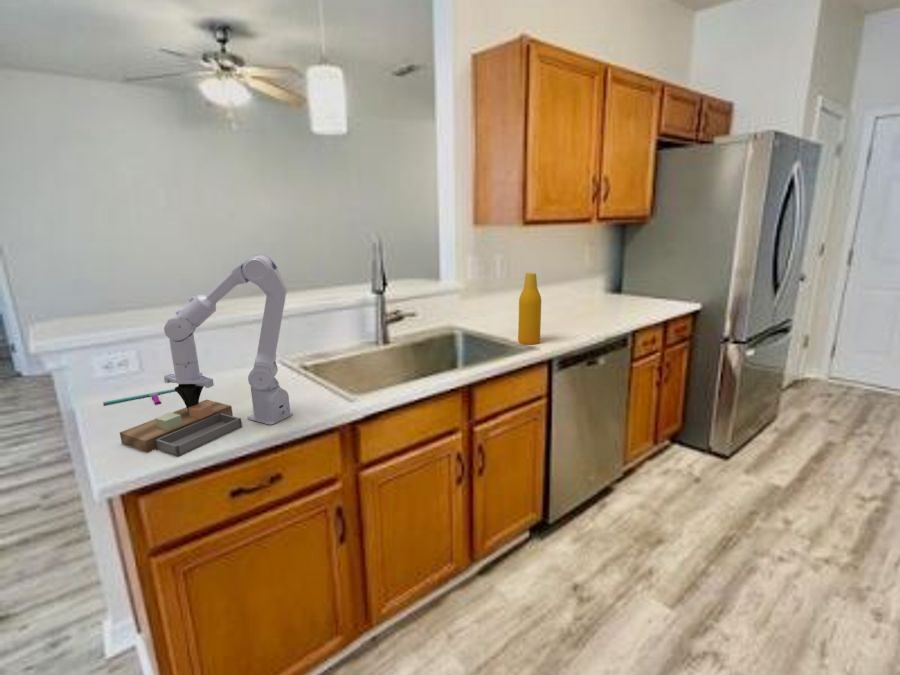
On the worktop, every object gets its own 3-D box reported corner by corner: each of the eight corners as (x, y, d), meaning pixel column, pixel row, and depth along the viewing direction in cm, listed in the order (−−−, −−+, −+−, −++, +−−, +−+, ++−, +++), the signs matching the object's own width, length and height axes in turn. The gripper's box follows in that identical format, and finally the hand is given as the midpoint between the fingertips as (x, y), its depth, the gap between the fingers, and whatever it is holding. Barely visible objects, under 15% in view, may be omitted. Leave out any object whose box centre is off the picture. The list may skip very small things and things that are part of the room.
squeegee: (105, 411, 139) (102, 401, 147) (106, 417, 140) (103, 406, 147) (214, 390, 156) (207, 381, 164) (215, 395, 156) (208, 386, 164)
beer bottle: (543, 340, 210) (545, 272, 203) (535, 346, 202) (537, 275, 195) (523, 338, 215) (524, 271, 207) (514, 343, 207) (515, 274, 200)
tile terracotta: (213, 413, 132) (212, 404, 131) (200, 419, 128) (198, 410, 128) (203, 411, 134) (201, 402, 133) (189, 416, 130) (188, 407, 130)
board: (232, 415, 138) (231, 405, 137) (147, 452, 117) (145, 441, 117) (207, 409, 143) (206, 399, 142) (121, 443, 122) (119, 432, 121)
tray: (241, 427, 130) (240, 418, 130) (178, 456, 115) (176, 446, 114) (221, 421, 134) (219, 412, 134) (156, 449, 119) (154, 439, 118)
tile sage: (182, 424, 126) (180, 415, 125) (167, 430, 122) (165, 421, 122) (172, 421, 127) (170, 412, 127) (157, 427, 124) (155, 418, 123)
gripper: (219, 359, 130) (226, 407, 134) (176, 355, 135) (184, 401, 138) (198, 367, 124) (206, 417, 127) (154, 362, 128) (162, 411, 132)
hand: (193, 409), depth 132 cm, fingers closed
